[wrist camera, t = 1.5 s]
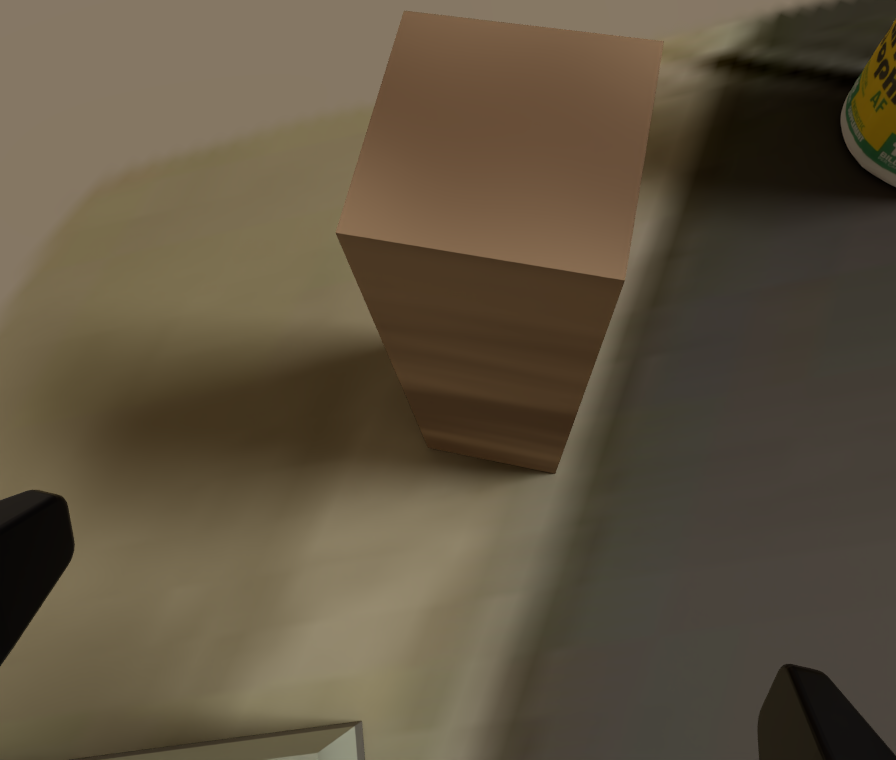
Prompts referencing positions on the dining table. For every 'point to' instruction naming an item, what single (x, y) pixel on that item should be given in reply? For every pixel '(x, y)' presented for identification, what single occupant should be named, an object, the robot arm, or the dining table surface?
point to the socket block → (264, 747)
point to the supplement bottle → (874, 113)
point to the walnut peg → (499, 222)
